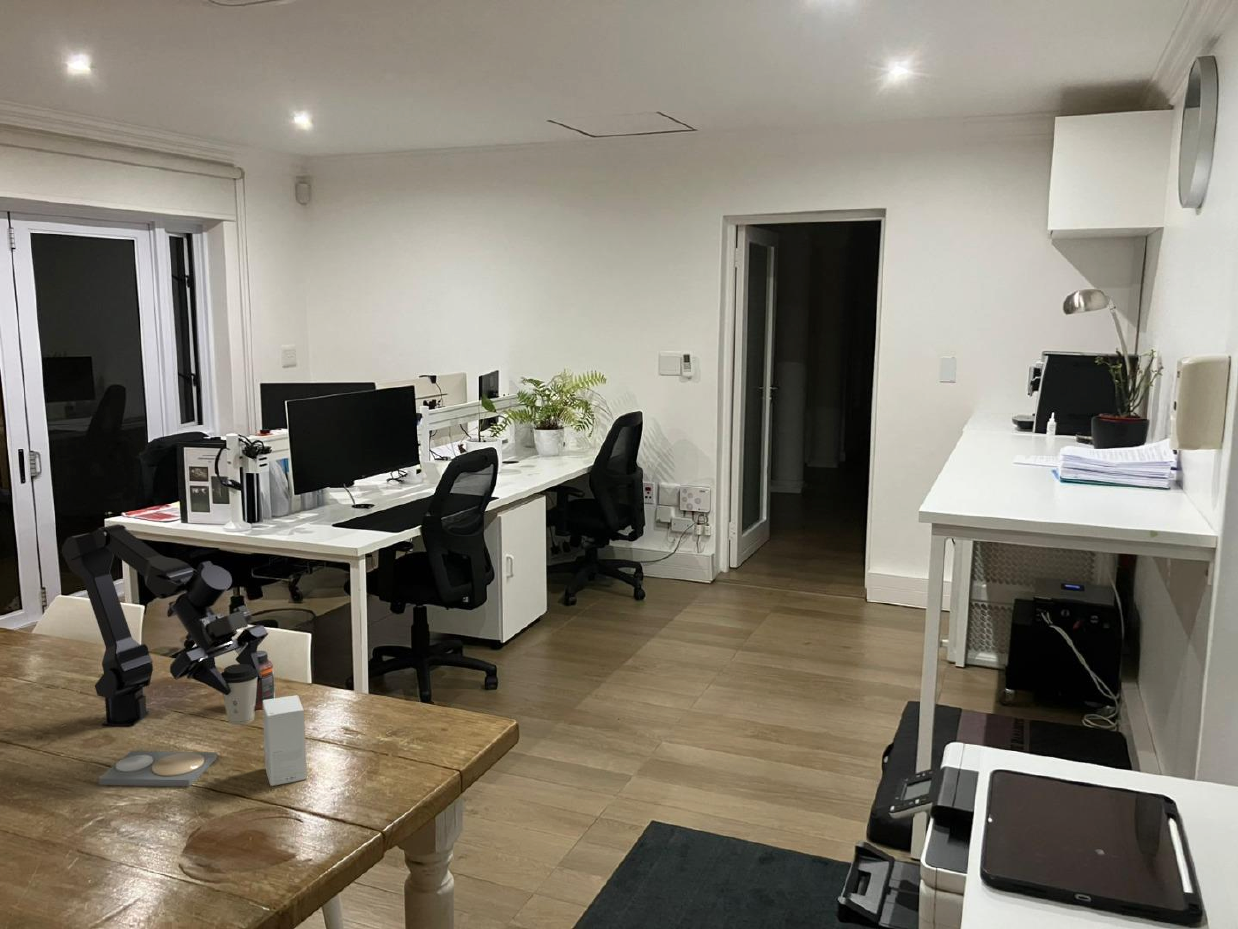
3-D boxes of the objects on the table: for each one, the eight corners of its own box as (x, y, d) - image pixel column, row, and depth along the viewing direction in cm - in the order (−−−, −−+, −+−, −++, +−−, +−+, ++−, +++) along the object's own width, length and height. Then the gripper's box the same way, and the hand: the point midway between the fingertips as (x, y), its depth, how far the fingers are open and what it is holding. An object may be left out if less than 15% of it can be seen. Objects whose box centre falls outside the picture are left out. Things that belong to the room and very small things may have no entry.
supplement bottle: (280, 700, 207) (277, 649, 206) (267, 710, 202) (264, 658, 200) (253, 698, 208) (250, 648, 206) (239, 709, 202) (237, 657, 201)
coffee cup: (269, 716, 183) (267, 665, 181) (240, 730, 176) (238, 677, 175) (241, 709, 186) (239, 659, 184) (212, 723, 179) (210, 671, 178)
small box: (307, 780, 172) (304, 710, 170) (269, 787, 169) (266, 716, 167) (301, 761, 179) (298, 694, 177) (264, 768, 176) (261, 699, 174)
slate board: (98, 785, 169) (98, 776, 169) (131, 757, 180) (131, 748, 180) (189, 786, 169) (188, 778, 168) (216, 758, 180) (216, 750, 179)
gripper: (177, 608, 171) (224, 679, 168) (259, 583, 187) (303, 648, 184) (149, 644, 176) (195, 714, 172) (232, 616, 192) (275, 680, 189)
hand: (244, 687), depth 179 cm, fingers closed on coffee cup, 7 cm apart
